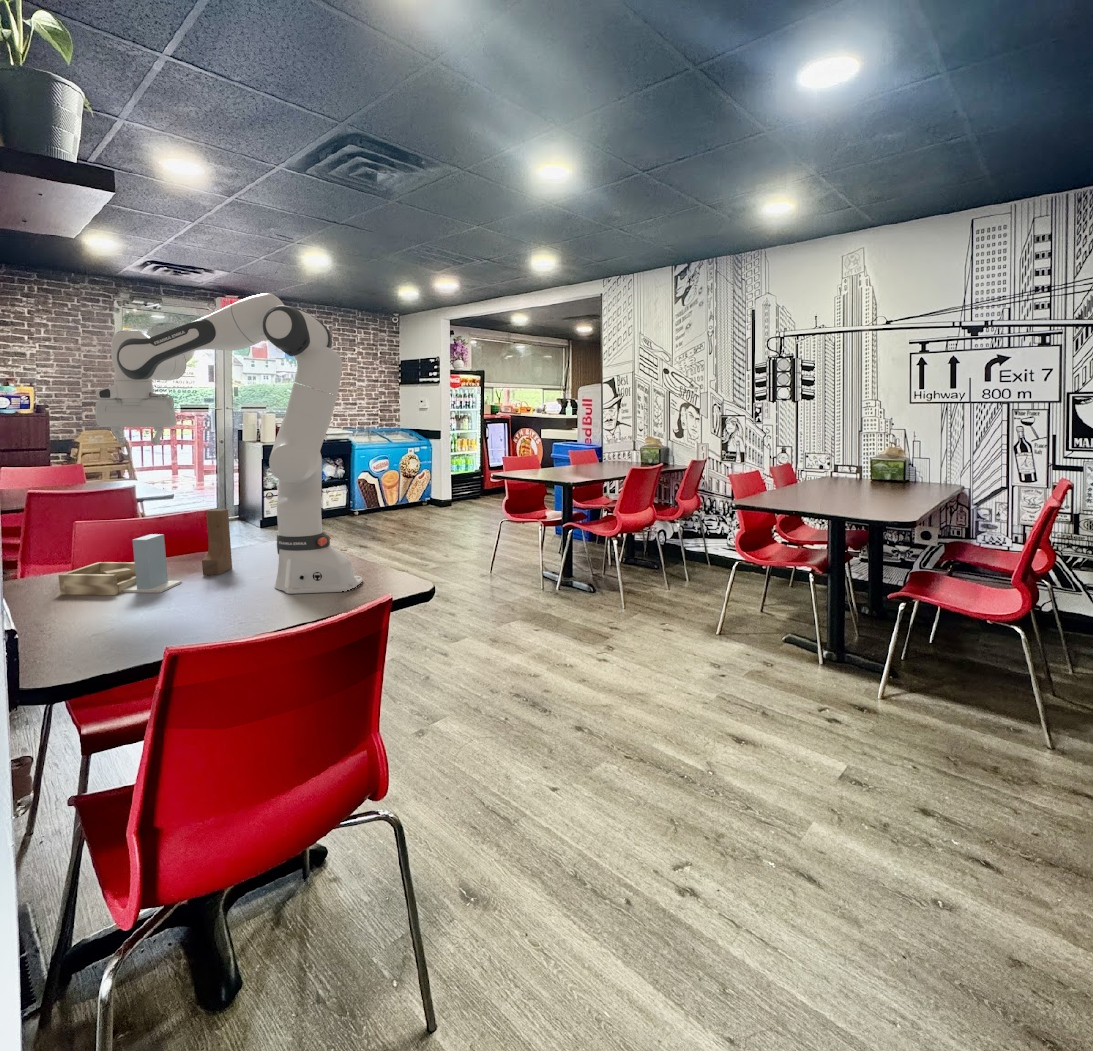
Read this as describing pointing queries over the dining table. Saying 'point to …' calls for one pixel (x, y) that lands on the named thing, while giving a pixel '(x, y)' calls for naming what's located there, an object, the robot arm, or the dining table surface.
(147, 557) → the grey block
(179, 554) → the dining table surface
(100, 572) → the tray
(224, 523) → the wooden block
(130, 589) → the felt pad
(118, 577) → the offcut oak
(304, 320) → the robot arm
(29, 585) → the dining table surface
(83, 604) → the dining table surface
